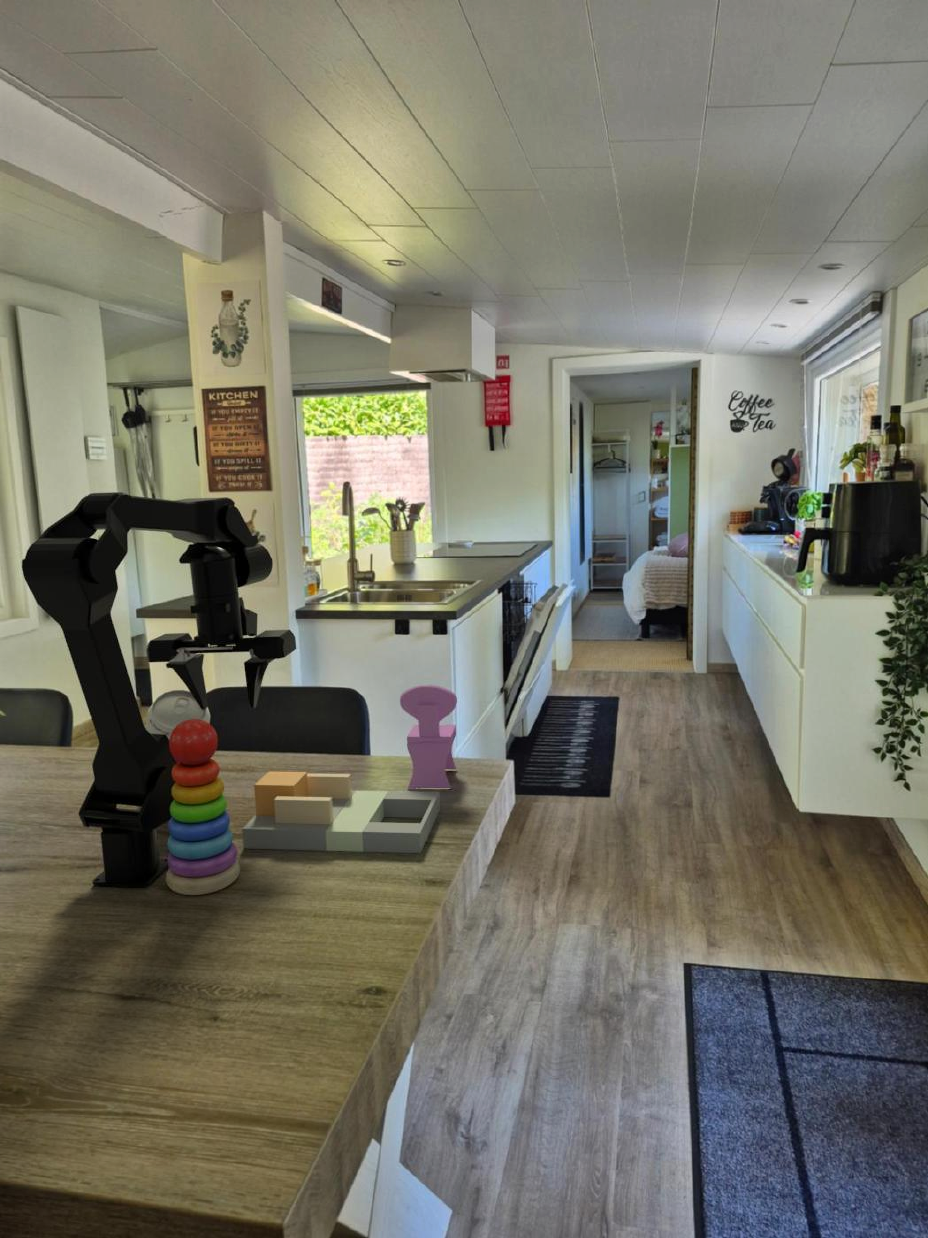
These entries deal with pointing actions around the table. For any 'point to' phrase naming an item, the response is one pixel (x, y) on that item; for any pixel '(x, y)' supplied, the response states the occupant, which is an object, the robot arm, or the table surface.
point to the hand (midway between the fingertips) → (228, 708)
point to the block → (278, 789)
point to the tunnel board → (344, 819)
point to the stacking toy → (198, 815)
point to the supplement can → (173, 712)
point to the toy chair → (430, 735)
